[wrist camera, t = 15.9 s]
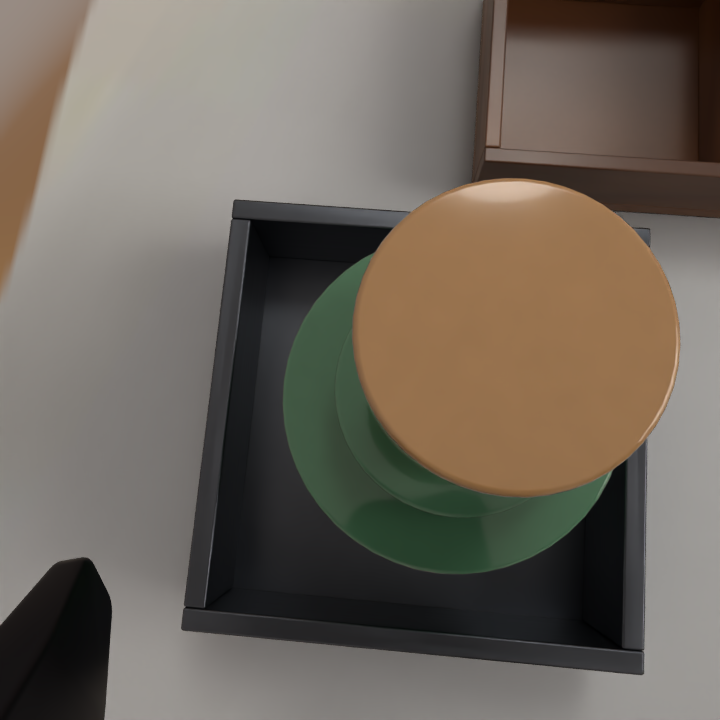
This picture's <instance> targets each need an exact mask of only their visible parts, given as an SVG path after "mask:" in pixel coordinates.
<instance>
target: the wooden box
mask: <svg viewBox="0 0 720 720" xmlns="http://www.w3.org/2000/svg"><path fill="white" fill-rule="evenodd" d="M502 178H522V179H532V180H539V181H546V182H549V183H553V184H557V185H561V186H564V187H567V188H570V189H572V190H575V191H577V192H580V193H582V194H585V195H586V196H588V197H590V198H592V199H594V200H596V201H597V202H599V203H601V204H603V205H604V206H606V207H607V208H608V209H610V210H615V211H629V212H644V213H658V214H673V215H687V216H702V217H716V218H720V0H483V9H482V26H481V42H480V58H479V74H478V91H477V107H476V123H475V140H474V156H473V172H472V183H475V182H479V181H483V180H492V179H502Z"/></svg>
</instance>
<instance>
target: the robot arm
mask: <svg viewBox="0 0 720 720" xmlns="http://www.w3.org/2000/svg"><path fill="white" fill-rule="evenodd" d="M111 619H112V605H111V600H110V596H109V594H108V592H107V590H106V588H105V586H104V584H103V582H102V580H101V578H100V575H99V573H98V571H97V569H96V567H95V565H94V564H93V562H92V561H91V560H90V559H89V558H86V557H81V558H76V559H70V560H64V561H60V562H57V563H56V564H54V565H53V566H52V567H51V568H50V569H49V570H48V571H47V573H46V574H45V575H44V576H43V577H42V578H41V579H40V581H39V582H38V583H37V584H36V585H35V586H34V587H33V589H32V590H31V591H30V592H29V593H28V594H27V596H26V597H25V598H24V599H23V600H22V601H21V602H20V604H19V605H18V606H17V607H16V608H15V609H14V610H13V612H12V613H11V614H10V615H9V616H8V617H7V618H6V620H5V621H4V622H3V623H2V624H1V625H0V720H104V717H105V706H106V691H107V677H108V662H109V648H110V634H111Z"/></svg>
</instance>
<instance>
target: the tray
mask: <svg viewBox="0 0 720 720" xmlns="http://www.w3.org/2000/svg"><path fill="white" fill-rule="evenodd" d="M409 213H410V212H406V211H392V210H377V209H363V208H349V207H334V206H320V205H306V204H292V203H277V202H263V201H249V200H234V202H233V210H232V218H233V219H232V220H231V227H230V235H229V243H228V251H227V259H226V267H225V275H224V284H223V292H222V300H221V308H220V316H219V324H218V332H217V341H216V349H215V357H214V365H213V373H212V381H211V389H210V398H209V406H208V414H207V422H206V430H205V438H204V446H203V455H202V463H201V471H200V479H199V487H198V495H197V503H196V512H195V520H194V528H193V536H192V544H191V552H190V560H189V568H188V577H187V585H186V593H185V601H184V605H185V608H184V610H183V617H182V625H181V629H182V630H183V631H193V632H203V633H214V634H224V635H234V636H244V637H255V638H265V639H275V640H286V641H296V642H306V643H316V644H327V645H337V646H347V647H357V648H368V649H378V650H388V651H399V652H409V653H419V654H429V655H440V656H450V657H460V658H470V659H481V660H491V661H501V662H511V663H522V664H532V665H542V666H553V667H563V668H573V669H583V670H594V671H604V672H614V673H624V674H635V675H643V674H644V652H643V651H642V650H644V628H645V560H646V492H647V439H646V440H645V441H644V443H643V444H642V445H641V446H640V447H639V448H638V449H637V450H636V451H635V452H634V453H633V454H632V455H631V456H630V457H629V458H628V459H627V460H625V461H624V462H623V463H621V464H620V465H619V466H617V467H616V468H615V469H613V471H612V474H611V477H610V479H609V481H608V483H607V484H606V486H605V488H604V490H603V492H602V493H601V495H600V497H599V499H598V500H597V501H596V503H595V504H594V505H593V507H592V508H591V509H590V511H589V512H588V513H587V515H586V516H585V517H584V518H583V519H582V520H581V521H580V522H579V523H578V524H577V525H576V526H575V527H574V528H573V529H572V530H571V531H570V532H569V533H568V534H567V535H566V536H564V537H563V538H562V539H560V540H559V541H558V542H556V543H555V544H554V545H552V546H551V547H550V548H548V549H546V550H544V551H542V552H541V553H539V554H537V555H535V556H534V557H532V558H530V559H527V560H525V561H522V562H520V563H517V564H515V565H512V566H509V567H506V568H502V569H497V570H493V571H489V572H484V573H474V574H463V575H460V574H438V573H432V572H426V571H421V570H415V569H412V568H409V567H406V566H403V565H400V564H396V563H393V562H391V561H389V560H387V559H385V558H383V557H381V556H379V555H376V554H374V553H372V552H371V551H369V550H368V549H366V548H364V547H363V546H361V545H360V544H358V543H357V542H355V541H354V540H352V539H351V538H350V537H349V536H348V535H346V534H345V533H344V532H343V531H342V530H340V529H339V528H338V527H337V526H336V525H335V524H334V523H333V522H332V521H331V520H330V519H329V518H328V517H327V515H326V514H325V513H324V512H323V511H322V510H321V509H320V508H319V506H318V505H317V503H316V502H315V500H314V499H313V497H312V496H311V495H310V493H309V492H308V490H307V489H306V487H305V485H304V483H303V481H302V479H301V477H300V475H299V473H298V471H297V469H296V466H295V464H294V461H293V458H292V455H291V452H290V450H289V446H288V442H287V437H286V432H285V428H284V418H283V406H282V400H283V381H284V376H285V370H286V365H287V360H288V356H289V353H290V350H291V347H292V344H293V341H294V338H295V336H296V334H297V332H298V330H299V328H300V326H301V324H302V322H303V320H304V318H305V316H306V315H307V313H308V312H309V310H310V309H311V307H312V306H313V304H314V302H315V301H316V300H317V299H318V298H319V296H320V295H321V294H322V293H323V292H324V291H325V289H326V288H327V287H328V286H329V285H330V284H331V283H332V282H333V281H334V280H335V279H336V278H338V277H339V276H340V275H341V274H342V273H343V272H344V271H345V270H347V269H348V268H350V267H351V266H353V265H354V264H355V263H357V262H358V261H360V260H361V259H363V258H365V257H367V256H368V255H370V254H372V253H374V252H376V250H377V248H378V247H379V245H380V244H381V242H382V241H383V240H384V239H385V237H386V236H387V235H388V234H389V233H390V231H391V230H392V229H393V228H394V227H395V226H396V225H397V224H398V223H399V222H400V221H401V220H402V219H404V218H405V217H406V216H407V215H408V214H409ZM631 228H632V229H634V230H635V231H636V233H637V234H638V235H639V236H640V237H641V239H642V240H643V241H644V242H645V243H646V245H647V246H648V247H650V229H648V228H634V227H631Z"/></svg>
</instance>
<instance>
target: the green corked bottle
mask: <svg viewBox="0 0 720 720" xmlns="http://www.w3.org/2000/svg"><path fill="white" fill-rule="evenodd" d="M679 354H680V328H679V320H678V314H677V309H676V304H675V300H674V297H673V294H672V291H671V288H670V285H669V283H668V280H667V278H666V276H665V274H664V272H663V270H662V268H661V266H660V264H659V262H658V261H657V259H656V258H655V256H654V255H653V253H652V251H651V250H650V248H649V247H648V246H647V245H646V243H645V242H644V241H643V240H642V239H641V237H640V236H639V235H638V234H637V233H636V231H635V230H634V229H632V228H631V227H630V226H629V225H628V224H627V223H626V222H625V221H624V220H623V219H622V218H621V217H619V216H618V215H617V214H615V213H614V212H613V211H611V210H610V209H608V208H607V207H606V206H604V205H603V204H601V203H599V202H597V201H596V200H594V199H592V198H590V197H588V196H586V195H585V194H582V193H580V192H577V191H575V190H572V189H570V188H567V187H564V186H561V185H557V184H553V183H549V182H546V181H539V180H532V179H522V178H502V179H492V180H483V181H479V182H475V183H470V184H466V185H462V186H460V187H457V188H454V189H451V190H449V191H446V192H443V193H442V194H440V195H438V196H436V197H434V198H432V199H430V200H428V201H426V202H425V203H423V204H422V205H420V206H419V207H418V208H416V209H415V210H413V211H412V212H410V213H409V214H408V215H407V216H406V217H405V218H404V219H402V220H401V221H400V222H399V223H398V224H397V225H396V226H395V227H394V228H393V229H392V230H391V231H390V233H389V234H388V235H387V236H386V237H385V239H384V240H383V241H382V242H381V244H380V245H379V247H378V248H377V250H376V252H374V253H372V254H370V255H368V256H367V257H365V258H363V259H361V260H360V261H358V262H357V263H355V264H354V265H353V266H351V267H350V268H348V269H347V270H345V271H344V272H343V273H342V274H341V275H340V276H339V277H338V278H336V279H335V280H334V281H333V282H332V283H331V284H330V285H329V286H328V287H327V288H326V289H325V291H324V292H323V293H322V294H321V295H320V296H319V298H318V299H317V300H316V301H315V302H314V304H313V306H312V307H311V309H310V310H309V312H308V313H307V315H306V316H305V318H304V320H303V322H302V324H301V326H300V328H299V330H298V332H297V334H296V336H295V338H294V341H293V344H292V347H291V350H290V353H289V356H288V360H287V365H286V370H285V376H284V381H283V400H282V406H283V418H284V428H285V432H286V437H287V442H288V446H289V450H290V452H291V455H292V458H293V461H294V464H295V466H296V469H297V471H298V473H299V475H300V477H301V479H302V481H303V483H304V485H305V487H306V489H307V490H308V492H309V493H310V495H311V496H312V497H313V499H314V500H315V502H316V503H317V505H318V506H319V508H320V509H321V510H322V511H323V512H324V513H325V514H326V515H327V517H328V518H329V519H330V520H331V521H332V522H333V523H334V524H335V525H336V526H337V527H338V528H339V529H340V530H342V531H343V532H344V533H345V534H346V535H348V536H349V537H350V538H351V539H352V540H354V541H355V542H357V543H358V544H360V545H361V546H363V547H364V548H366V549H368V550H369V551H371V552H372V553H374V554H376V555H379V556H381V557H383V558H385V559H387V560H389V561H391V562H393V563H396V564H400V565H403V566H406V567H409V568H412V569H415V570H421V571H426V572H432V573H438V574H460V575H463V574H474V573H484V572H489V571H493V570H497V569H502V568H506V567H509V566H512V565H515V564H517V563H520V562H522V561H525V560H527V559H530V558H532V557H534V556H535V555H537V554H539V553H541V552H542V551H544V550H546V549H548V548H550V547H551V546H552V545H554V544H555V543H556V542H558V541H559V540H560V539H562V538H563V537H564V536H566V535H567V534H568V533H569V532H570V531H571V530H572V529H573V528H574V527H575V526H576V525H577V524H578V523H579V522H580V521H581V520H582V519H583V518H584V517H585V516H586V515H587V513H588V512H589V511H590V509H591V508H592V507H593V505H594V504H595V503H596V501H597V500H598V499H599V497H600V495H601V493H602V492H603V490H604V488H605V486H606V484H607V483H608V481H609V479H610V477H611V474H612V471H613V469H615V468H616V467H617V466H619V465H620V464H621V463H623V462H624V461H625V460H627V459H628V458H629V457H630V456H631V455H632V454H633V453H634V452H635V451H636V450H637V449H638V448H639V447H640V446H641V445H642V444H643V443H644V441H645V440H646V439H647V437H648V436H649V435H650V433H651V432H652V431H653V429H654V428H655V427H656V425H657V423H658V421H659V420H660V418H661V416H662V414H663V412H664V411H665V409H666V407H667V404H668V401H669V399H670V396H671V393H672V391H673V388H674V384H675V380H676V375H677V371H678V366H679Z"/></svg>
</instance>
